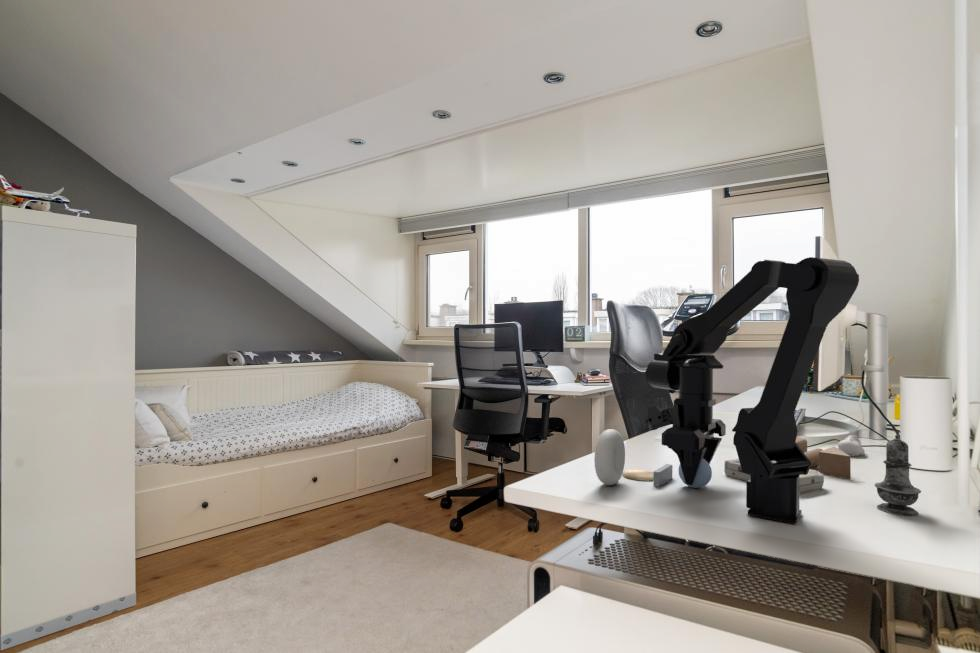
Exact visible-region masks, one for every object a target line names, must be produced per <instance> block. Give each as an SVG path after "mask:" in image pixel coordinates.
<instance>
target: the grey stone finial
mask: <svg viewBox="0 0 980 653" xmlns="http://www.w3.org/2000/svg"><path fill="white" fill-rule="evenodd" d="M894 437H895V438H893V439H891V440H888V441H887V442H886V445H885V446H886V450H885V452H886V453H885V455H886V459H885V460H883V463H884V465H885V475H884V479H883V480H882V481H880V482H876V483H874V487H875V488H876V492H877V495H878V496H879V498H880V499H881V500H883V502H881V503H880V504H878V505H876V509H877V510H880V511H882V512H885V513H888V514H892V515H898V516H904V517H916V516H918V515H920V514H919V511H918V510H916V509H915V508H913V507H911V505H913V504H915V503H916V502H917V501H918V499H919V494H921V493H922V490H921V489H920V488H918V487H915V486H914V485H913V484H912V483H911V482H912V481H911V480H910V467H912V464H911V463H910V462H909V445H908V443H907V442H905V441H903V440H902V439H900V435H899V434H898V433H897V434H895V436H894Z"/></svg>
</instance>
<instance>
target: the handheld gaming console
mask: <svg viewBox="0 0 980 653" xmlns="http://www.w3.org/2000/svg"><path fill="white" fill-rule="evenodd" d="M771 462H772V463H777V462H776V461H771ZM723 468H724V470H723V471H724V475H726V476H727V477H730V478H734V479H738V480H741V481H744V482H747V481H748V480H749V479H750V475H749V474H746V473H743V472H742V469H741V465H740V461H739V458H734V459H728V460H724V467H723ZM824 482H825V475H824V474H821V473H820V472H819V470H815V469H812V468H810V469H809V472H808V474H807V475H800V486H799V494H801V493H808V492H812V491H817V490H821V489H822V488H823V486H824Z"/></svg>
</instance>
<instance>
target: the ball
mask: <svg viewBox="0 0 980 653" xmlns="http://www.w3.org/2000/svg"><path fill="white" fill-rule="evenodd" d="M678 477H679V478H680V480H681V481H682V482H683V484H685V485H686V486H687V487H690V488H693V489H701V488H703V487H706V486H707V485H708V484H709V483H710V481H711V479H712V477H713V470H712V467H711V464H709V463H708V462H707V461H706V460H705V459H702V461H701V464H700V467H699V470H698V472H697V475H696V478H695V480H694V483H693V485H687V484H686V483H685V479H684V476H683V472H682V468H681V465H680V464H679V466H678Z"/></svg>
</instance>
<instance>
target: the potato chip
mask: <svg viewBox="0 0 980 653" xmlns="http://www.w3.org/2000/svg"><path fill="white" fill-rule="evenodd" d="M653 475H654V471H649V470H640V469H629V470H625V471H624V470H623V473H622V476H623V477H624V478H625V479H629V480H634V481H641V482H651V481H652V482H653Z"/></svg>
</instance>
